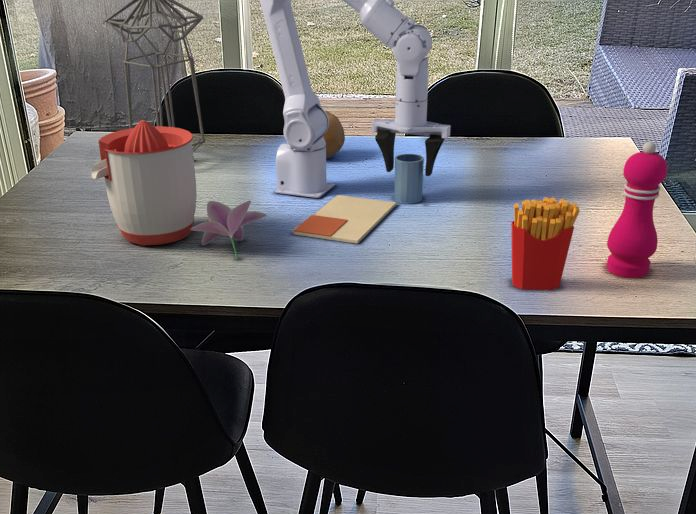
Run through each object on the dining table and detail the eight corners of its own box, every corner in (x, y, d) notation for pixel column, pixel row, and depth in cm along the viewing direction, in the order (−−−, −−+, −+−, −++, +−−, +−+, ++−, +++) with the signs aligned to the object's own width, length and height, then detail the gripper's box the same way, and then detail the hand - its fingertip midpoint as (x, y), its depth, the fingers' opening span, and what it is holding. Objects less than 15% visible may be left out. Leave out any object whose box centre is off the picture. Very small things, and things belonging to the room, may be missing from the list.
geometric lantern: (169, 149, 191) (150, -17, 173) (220, 159, 183) (206, -13, 165) (118, 166, 180) (92, -9, 162) (170, 179, 172) (149, -4, 154)
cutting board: (293, 234, 144) (293, 230, 144) (337, 197, 160) (337, 193, 159) (357, 243, 140) (357, 239, 139) (396, 205, 156) (396, 201, 155)
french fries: (507, 289, 124) (516, 206, 117) (504, 277, 127) (512, 196, 121) (570, 290, 123) (582, 206, 116) (565, 278, 126) (577, 196, 120)
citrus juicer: (95, 228, 149) (75, 116, 138) (189, 213, 154) (177, 104, 144) (112, 260, 136) (92, 139, 126) (213, 242, 142) (202, 125, 132)
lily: (279, 249, 141) (262, 194, 141) (262, 248, 130) (245, 189, 129) (214, 269, 144) (198, 215, 143) (192, 270, 132) (175, 212, 131)
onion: (303, 150, 187) (302, 105, 182) (347, 151, 186) (347, 106, 181) (296, 163, 179) (295, 117, 174) (342, 164, 178) (342, 117, 173)
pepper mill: (596, 261, 132) (615, 136, 121) (640, 259, 132) (663, 133, 122) (613, 280, 125) (636, 150, 115) (659, 278, 126) (686, 147, 116)
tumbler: (390, 201, 157) (391, 160, 153) (399, 193, 161) (400, 152, 157) (417, 205, 155) (418, 163, 151) (425, 196, 160) (427, 155, 155)
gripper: (365, 101, 148) (365, 174, 155) (444, 107, 143) (440, 183, 150) (379, 92, 154) (378, 164, 161) (455, 97, 149) (451, 171, 156)
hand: (409, 172), depth 156 cm, fingers open, 7 cm apart
